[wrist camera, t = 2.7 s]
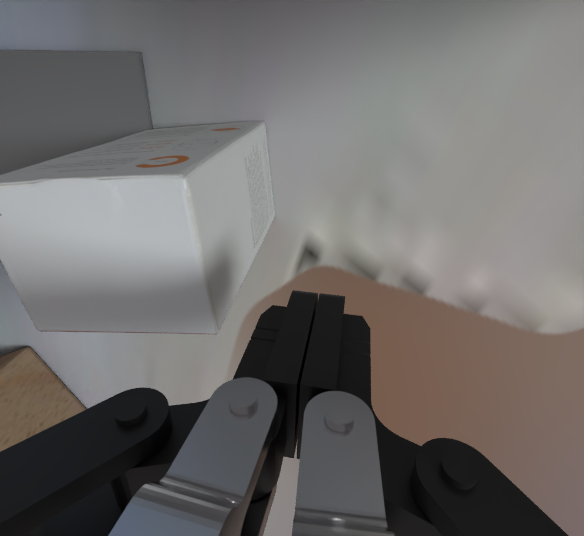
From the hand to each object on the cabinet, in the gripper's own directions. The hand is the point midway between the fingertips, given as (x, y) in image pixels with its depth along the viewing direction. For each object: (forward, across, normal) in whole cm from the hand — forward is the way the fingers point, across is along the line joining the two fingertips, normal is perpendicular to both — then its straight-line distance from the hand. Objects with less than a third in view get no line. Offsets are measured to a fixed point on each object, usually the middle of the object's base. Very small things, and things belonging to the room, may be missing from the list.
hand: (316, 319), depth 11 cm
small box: (+15, +9, 0) cm, 17 cm away
